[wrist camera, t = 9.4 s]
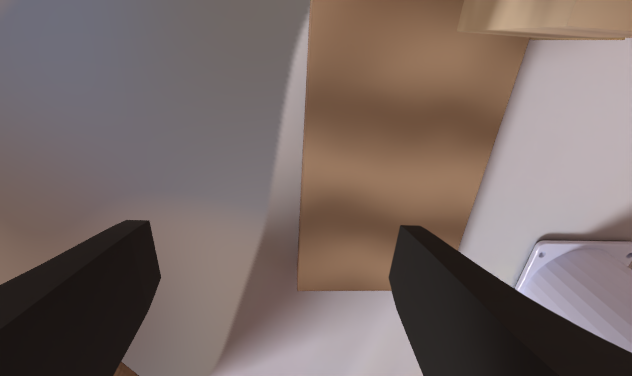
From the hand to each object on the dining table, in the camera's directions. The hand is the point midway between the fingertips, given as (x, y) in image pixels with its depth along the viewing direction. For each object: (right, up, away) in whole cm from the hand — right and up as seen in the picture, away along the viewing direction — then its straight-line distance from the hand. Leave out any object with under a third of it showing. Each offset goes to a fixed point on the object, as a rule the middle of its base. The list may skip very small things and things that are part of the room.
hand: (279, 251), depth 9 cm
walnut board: (+5, +6, +8) cm, 11 cm away
